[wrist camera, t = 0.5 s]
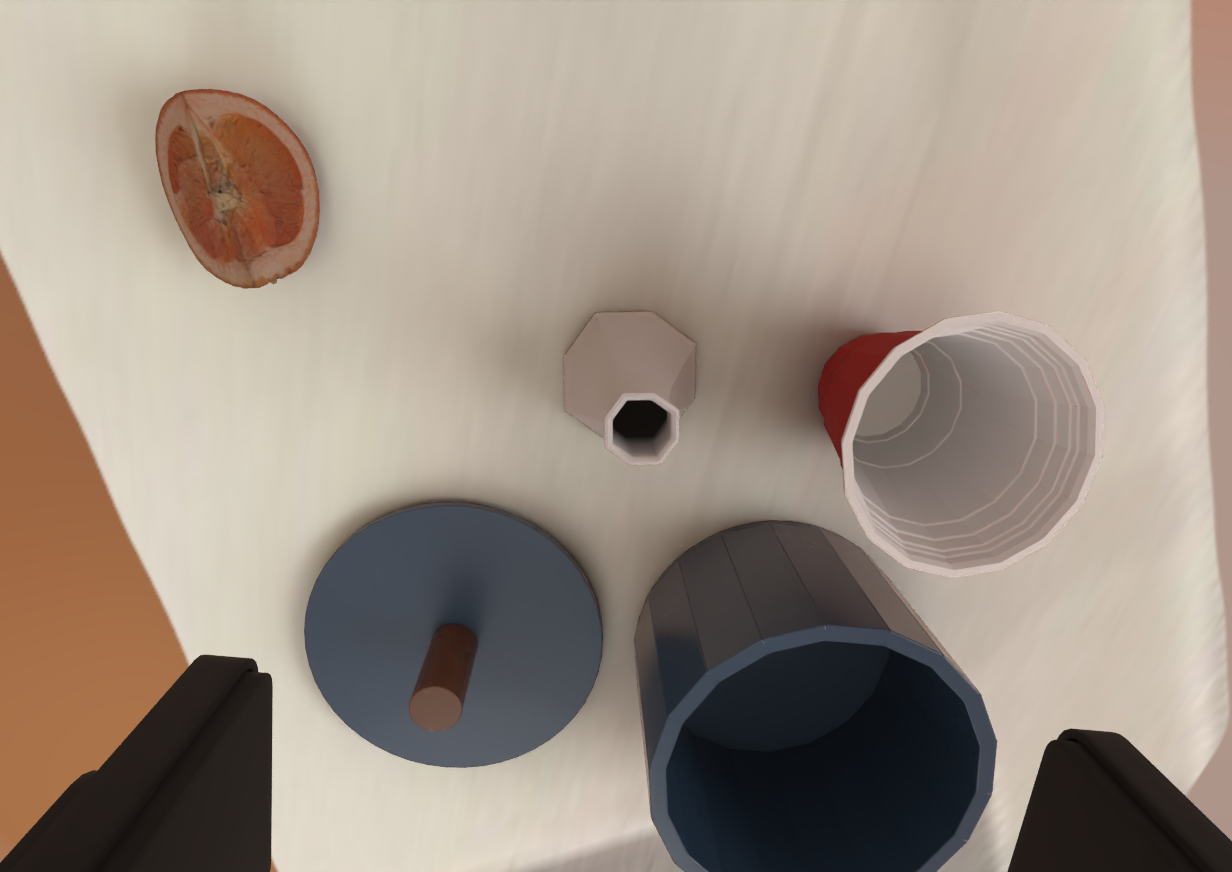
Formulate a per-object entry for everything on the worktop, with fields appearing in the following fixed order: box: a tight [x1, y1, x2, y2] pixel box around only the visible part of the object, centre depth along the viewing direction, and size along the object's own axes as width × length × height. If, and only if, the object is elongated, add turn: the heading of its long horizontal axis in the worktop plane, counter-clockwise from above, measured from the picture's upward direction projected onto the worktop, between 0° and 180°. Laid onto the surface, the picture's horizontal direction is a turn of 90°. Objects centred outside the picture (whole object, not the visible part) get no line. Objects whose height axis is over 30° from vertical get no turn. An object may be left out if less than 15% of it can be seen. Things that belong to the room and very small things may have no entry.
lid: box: [304, 502, 603, 768], centre depth 42 cm, size 17×17×7 cm
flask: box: [563, 312, 696, 465], centre depth 37 cm, size 7×7×10 cm
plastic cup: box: [818, 311, 1104, 578], centre depth 37 cm, size 11×11×12 cm
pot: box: [634, 521, 997, 872], centre depth 41 cm, size 16×16×12 cm
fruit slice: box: [156, 89, 320, 288], centre depth 36 cm, size 8×7×5 cm
